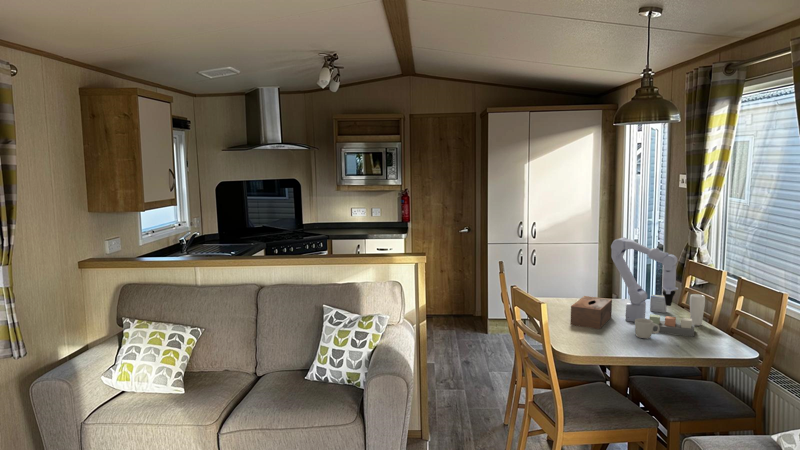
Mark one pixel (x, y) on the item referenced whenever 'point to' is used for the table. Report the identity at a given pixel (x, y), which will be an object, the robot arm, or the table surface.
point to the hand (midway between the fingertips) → (668, 305)
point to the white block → (686, 323)
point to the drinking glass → (697, 308)
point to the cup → (645, 328)
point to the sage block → (655, 318)
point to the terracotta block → (670, 321)
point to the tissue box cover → (591, 312)
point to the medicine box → (658, 303)
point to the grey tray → (675, 329)
